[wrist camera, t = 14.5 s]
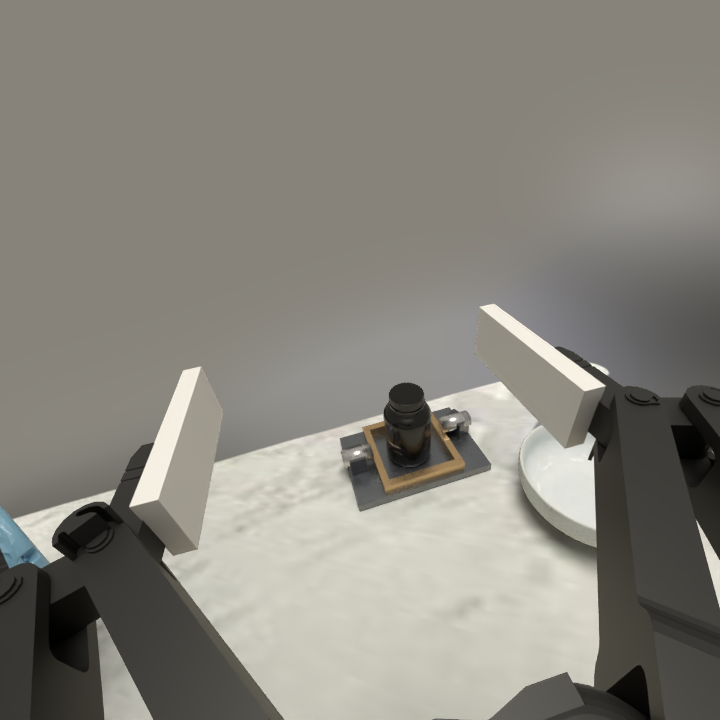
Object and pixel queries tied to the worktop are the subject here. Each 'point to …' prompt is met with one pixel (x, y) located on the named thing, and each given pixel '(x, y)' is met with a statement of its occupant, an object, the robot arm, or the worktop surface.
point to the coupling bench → (391, 481)
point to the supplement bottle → (407, 425)
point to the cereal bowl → (560, 483)
